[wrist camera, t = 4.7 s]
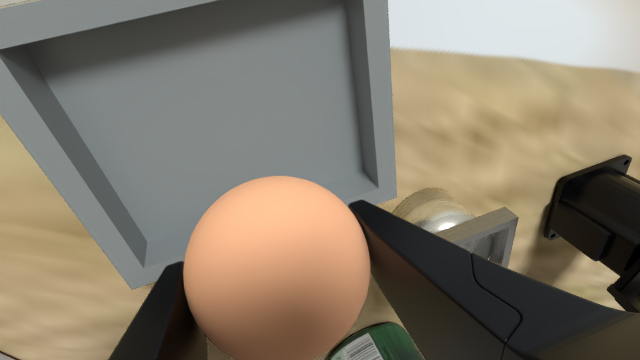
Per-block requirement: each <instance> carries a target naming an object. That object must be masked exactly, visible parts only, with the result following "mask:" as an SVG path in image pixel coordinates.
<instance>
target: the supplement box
mask: <svg viewBox="0 0 640 360" xmlns="http://www.w3.org/2000/svg"><path fill="white" fill-rule="evenodd" d="M0 360H15V359H13V358H11V357H8V356H6V355H4V354H2V353H0Z"/></svg>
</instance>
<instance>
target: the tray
mask: <svg viewBox="0 0 640 360" xmlns="http://www.w3.org/2000/svg"><path fill="white" fill-rule="evenodd" d="M0 115H1V116H2V117H3V119H4V120H5V121H6V123H7V124H8V125H9V127H10V128H11V129H12V131H13V132H14V133H15V135H16V136H17V137H18V139H19V140H20V141H21V143H22V144H23V145H24V147H25V148H26V149H27V151H28V152H29V153H30V155H31V156H32V157H33V159H34V160H35V161H36V163H37V164H38V165H39V167H40V168H41V169H42V171H43V172H44V173H45V175H46V176H47V177H48V179H49V180H50V181H51V183H52V184H53V185H54V187H55V188H56V189H57V191H58V192H59V193H60V195H61V196H62V197H63V199H64V200H65V201H66V203H67V204H68V205H69V207H70V208H71V209H72V211H73V212H74V213H75V215H76V216H77V217H78V219H79V220H80V221H81V223H82V224H83V225H84V227H85V228H86V229H87V231H88V232H89V233H90V235H91V236H92V237H93V239H94V240H95V241H96V243H97V244H98V245H99V247H100V248H101V249H102V251H103V252H104V253H105V255H106V256H107V257H108V259H109V260H110V261H111V263H112V264H113V265H114V267H115V268H116V269H117V271H118V272H119V273H120V275H121V276H122V277H123V279H124V280H125V281H126V283H127V284H128V285H129V287H130V288H131V289H132V290H133V289H136V288H139V287H142V286H145V285H147V284H150V283H153V282H156V281H157V280H158V278H159V276H160V275H161V273H162V272H163V270H164V268H165V267H166V266H167V265H170V264H172V263H175V262H178V261H185V253H186V250H187V247H188V244H189V241H190V237H191V235H192V233H193V231H194V229H195V227H196V225H197V223H198V222H199V220H200V219H201V217H202V216H203V214H204V213H205V212H206V211H207V210H208V208H209V207H210V206H211V205H212V204H213V203H214V202H215V201H216V200H218V199H219V198H220V197H221V196H222V195H223V194H225V193H226V192H228V191H229V190H231V189H233V188H235V187H237V186H239V185H240V184H243V183H245V182H248V181H251V180H254V179H258V178H262V177H269V176H290V177H296V178H300V179H305V180H308V181H311V182H314V183H316V184H318V185H320V186H322V187H324V188H325V189H327V190H329V191H330V192H332V193H333V194H334V195H336V196H337V197H338V198H339V199H340V200H342V201H343V203H344V204H345V205H346V206H347V207H348V205H349V203H351V202H354V201H357V200H361V199H362V200H365V201H367V202H369V203H371V204H373V205H376V204H379V203H382V202H385V201H388V200H391V199H394V198H396V197H397V190H396V168H395V147H394V126H393V104H392V83H391V61H390V40H389V19H388V0H28V1H24V2H19V3H14V4H9V5H5V6H0Z"/></svg>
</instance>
